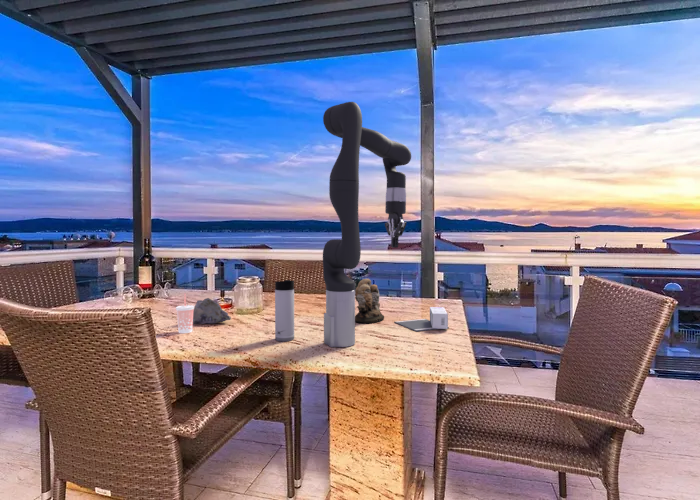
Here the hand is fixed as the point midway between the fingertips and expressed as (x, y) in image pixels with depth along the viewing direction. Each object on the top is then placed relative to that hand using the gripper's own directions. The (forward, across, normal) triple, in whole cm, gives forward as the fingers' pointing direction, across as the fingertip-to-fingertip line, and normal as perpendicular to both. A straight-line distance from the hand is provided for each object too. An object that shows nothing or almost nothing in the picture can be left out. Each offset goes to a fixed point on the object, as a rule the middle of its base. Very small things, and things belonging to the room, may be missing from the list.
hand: (394, 247), depth 153 cm
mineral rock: (+31, -32, -63) cm, 77 cm away
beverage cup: (+32, -22, -72) cm, 81 cm away
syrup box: (+26, +11, +13) cm, 31 cm away
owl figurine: (+30, -16, -3) cm, 34 cm away
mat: (+30, +1, +12) cm, 32 cm away
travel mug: (+31, +2, -42) cm, 52 cm away
